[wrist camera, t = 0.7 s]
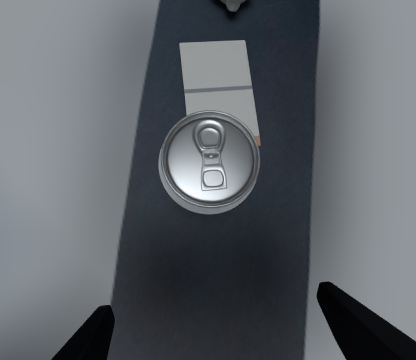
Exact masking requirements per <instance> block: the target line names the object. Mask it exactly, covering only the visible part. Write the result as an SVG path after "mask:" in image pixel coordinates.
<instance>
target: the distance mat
mask: <svg viewBox="0 0 416 360" xmlns="http://www.w3.org/2000/svg"><path fill="white" fill-rule="evenodd" d="M180 53H181V63H182V72H183V82H184V92H185V102H186V111H187V116H188V115H190V114H192V113H195V112H199V111H206V110H213V111H220V112H224V113H227V114H230V115H232V116H234V117H236V118H237V119H239V120H240V121H241V122H243V123H244V124H245V125H246V126H247V127H248V128H249V129H250V131H251V132H252V134H253V135H254V137H255V139H256V141H257V144H258V146H261V143H260V136H259V130H258V124H257V117H256V110H255V104H254V97H253V90H252V84H251V77H250V70H249V64H248V57H247V50H246V44H245V40H239V41H216V42H193V43H180Z"/></svg>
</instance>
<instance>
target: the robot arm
mask: <svg viewBox="0 0 416 360" xmlns="http://www.w3.org/2000/svg"><path fill="white" fill-rule="evenodd" d="M317 300H318V303H319V305H320V307H321V309H322V312H323V314H324V316H325V318H326V320H327V323H328V325H329V327H330V329H331V331H332V333H333V336H334V338H335V340H336V341H337V344H338V345H339V347H340V349H341V351H342V353H343V355H344V356H345V358H346V360H416V341H414V340H413V339H412V338H410V337H409V336H407V335H406V334H404V333H403V332H402V331H400V330H399V329H397V328H396V327H394V326H393V325H391V324H390V323H389V322H387V321H386V320H384V319H383V318H381V317H380V316H378V315H377V314H376V313H374V312H373V311H371V310H370V309H368V308H367V307H366V306H364V305H363V304H361V303H360V302H358V301H357V300H356V299H354V298H353V297H351V296H350V295H348V294H347V293H345V292H344V291H343V290H341V289H340V288H338V287H337V286H335V285H334V284H333V283H331V282H321V283H320V284H319V287H318V291H317ZM114 323H115V318H114V314H113V311H112V308H111V306H110V305H104V306H100V307H98V308H97V309H96V310H95V311H94V313H93V314H92V315H91V316H90V317H89V318H88V319H87V320H86V321H85V323H84V324H83V325H82V326H81V327H80V328H79V329H78V330H77V331H76V332H75V334H74V335H73V336H72V337H71V338H70V339H69V340H68V341H67V343H66V344H65V345H64V346H63V347H62V348H61V349H60V351H59V352H58V353H57V354H56V355H55V356H54V357H53V358H52V360H107V356H108V351H109V347H110V342H111V338H112V333H113V328H114Z"/></svg>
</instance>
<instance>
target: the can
mask: <svg viewBox="0 0 416 360" xmlns="http://www.w3.org/2000/svg"><path fill="white" fill-rule="evenodd" d="M259 169H260V151H259V147H258V144H257V141H256V139H255V137H254V135H253V134H252V132H251V131H250V129H249V128H248V127H247V126H246V125H245V124H244V123H243V122H241V121H240V120H239V119H237V118H236V117H234V116H232V115H230V114H227V113H224V112H220V111H213V110H206V111H199V112H195V113H192V114H190V115H188V116H186V117H184V118H182V119H181V120H179V121H178V122H177V123H176V124H175V125H174V126H173V127H172V128H171V129H170V131H169V132H168V134H167V136H166V138H165V140H164V142H163V145H162V148H161V151H160V155H159V173H160V177H161V181H162V183H163V185H164V188H165V189H166V191H167V192H168V194H169V195H170V196H171V198H172V199H173V200H174V201H175V202H177V203H178V204H179V205H181V206H182V207H184V208H186V209H187V210H190V211H192V212H196V213H200V214H218V213H222V212H225V211H228V210H230V209H232V208H234V207H236V206H237V205H239V204H240V203H241V202H242V201H243V200H244V199H245V198H246V197H247V196H248V195H249V194H250V192H251V191H252V189H253V187H254V185H255V182H256V179H257V176H258V173H259Z"/></svg>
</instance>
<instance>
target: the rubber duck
mask: <svg viewBox="0 0 416 360" xmlns="http://www.w3.org/2000/svg"><path fill="white" fill-rule="evenodd" d="M220 1H221V2H223V3H224V4H226V6H227V8H228V10H229V11H233V12H235V11H237V10H238V8H239V6H240V4H241V3H243V2H244V1H245V0H220ZM246 1H248V0H246Z"/></svg>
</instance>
